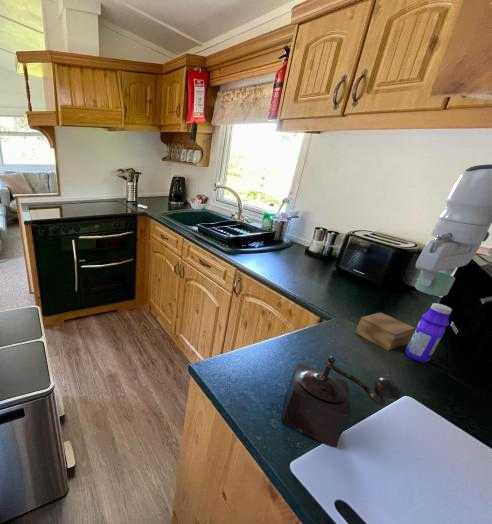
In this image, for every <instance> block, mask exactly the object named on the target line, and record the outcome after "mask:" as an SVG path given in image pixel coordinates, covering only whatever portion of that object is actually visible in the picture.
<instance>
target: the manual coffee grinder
mask: <svg viewBox="0 0 492 524" xmlns="http://www.w3.org/2000/svg"><path fill="white" fill-rule="evenodd" d="M335 362H336V358H335V357H334V356H332V355H331V356H328V357H327V360H326V361H325V368H324V371H321V370H318V369H315V368H312V367H310V366H307V365H304V364H302V363H299V362H297V363H296V365H295V368H294V370H293V373H292V376H291V379H290V382H289V384H288V387H287V390H286V392H285V395H284V401H283V407H282V413H281V418H280V420H281V423H282V424H283V425H285V426H287V427H289V428H290V429H292V430H294V431H296V432H299V433H300V434H302V435H304V436H306V437H308V438H309V439H310V438H311V439H313V440H315V441H318V442H320V443H323V444H325V445H328V446H330V447H334V448H338V443H339V441H340V438H341V436H342V433H343V432H344V430H345V427H346V425H347V424H348V421H349V419H350V417H351V413H352V409H351V407H352V406H351V396H350V395H351V394H350V388H349V387H350V386H349V382H348V381H347V380H344V379H341V378H339V377H336V376H333V375H332V374H330V372H331V370H333V371H334V372H336V373H337V374H339V375H340V376H342V377H345V378H346V379H348V380H350V381H352V382H353V383H355V384H356V385H358V386H360V387H361V388H362V390H364V391H365V393H367V395H368V397H369V398H370V400H371V401H372V402H374V403H375V404H376V405H378V406H381V407H385V406H386V404H387V402H389V401H398V400H399V399H400V398H401V397H402V390H401V388H400V386H398V385H397V383H395V382H394V381H393V380H391V379H390V378H387V377H384V376H382V377H378V378H376V379H375V380H374V389H373V390H372V389H371V388H370V387H369V385H367V384H366V383H365V382H364V381H362V380H361V379H359V378H357V377H356V376H354V375H352V374H350V373H348V372H347V371H345V370H343V369H341V368H340V367H338V366H336V365H335Z"/></svg>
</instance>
